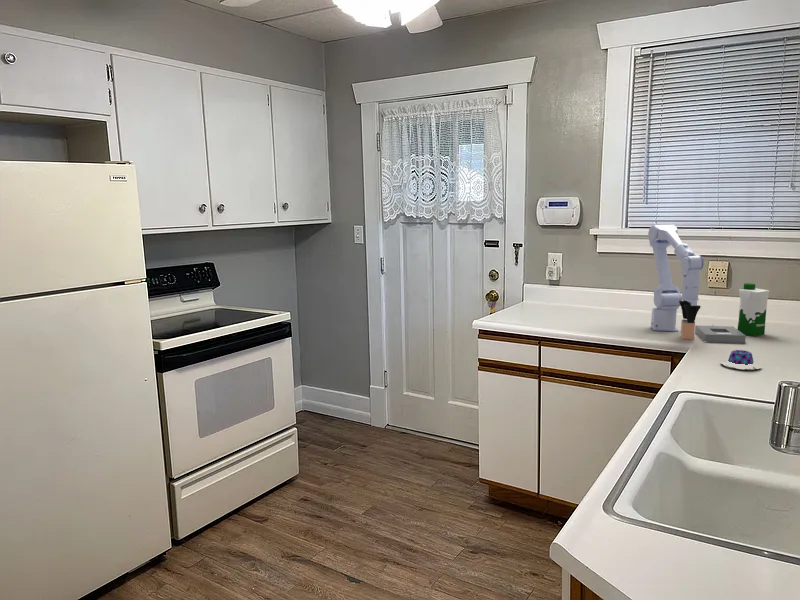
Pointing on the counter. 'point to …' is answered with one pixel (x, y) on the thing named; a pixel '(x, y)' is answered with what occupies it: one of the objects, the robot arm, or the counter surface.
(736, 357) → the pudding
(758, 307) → the milk carton
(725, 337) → the outlet box
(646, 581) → the counter surface
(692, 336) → the tan rectangular block
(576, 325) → the counter surface
